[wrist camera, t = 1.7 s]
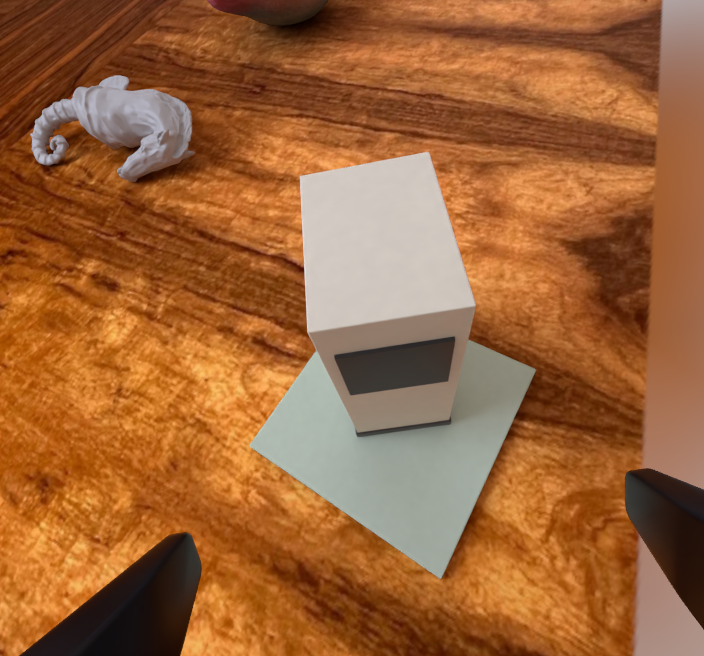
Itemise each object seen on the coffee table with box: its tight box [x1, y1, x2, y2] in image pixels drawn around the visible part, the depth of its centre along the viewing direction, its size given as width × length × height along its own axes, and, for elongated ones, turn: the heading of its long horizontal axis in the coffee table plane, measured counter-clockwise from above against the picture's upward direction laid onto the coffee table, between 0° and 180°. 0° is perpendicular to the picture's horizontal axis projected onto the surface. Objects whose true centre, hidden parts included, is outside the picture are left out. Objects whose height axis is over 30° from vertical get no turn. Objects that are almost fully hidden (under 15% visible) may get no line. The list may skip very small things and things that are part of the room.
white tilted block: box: [300, 152, 476, 437], centre depth 19 cm, size 5×7×12 cm
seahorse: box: [31, 76, 195, 182], centre depth 38 cm, size 5×12×20 cm
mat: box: [250, 340, 536, 579], centre depth 23 cm, size 12×12×1 cm
